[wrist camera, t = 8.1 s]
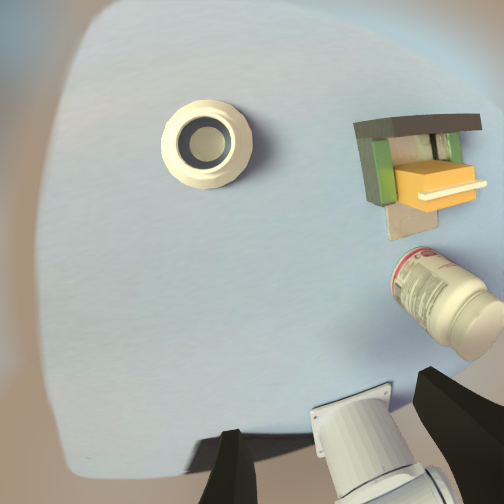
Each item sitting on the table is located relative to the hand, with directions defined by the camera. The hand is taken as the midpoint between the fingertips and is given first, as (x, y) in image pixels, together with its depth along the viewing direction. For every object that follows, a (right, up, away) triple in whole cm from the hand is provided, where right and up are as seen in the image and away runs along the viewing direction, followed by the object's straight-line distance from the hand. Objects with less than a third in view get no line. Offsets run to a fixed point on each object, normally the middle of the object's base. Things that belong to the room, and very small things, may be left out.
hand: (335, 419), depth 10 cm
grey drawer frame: (+7, +11, +8) cm, 16 cm away
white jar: (-6, +12, +7) cm, 15 cm away
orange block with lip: (+7, +11, +7) cm, 15 cm away
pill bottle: (+9, +5, +11) cm, 15 cm away
